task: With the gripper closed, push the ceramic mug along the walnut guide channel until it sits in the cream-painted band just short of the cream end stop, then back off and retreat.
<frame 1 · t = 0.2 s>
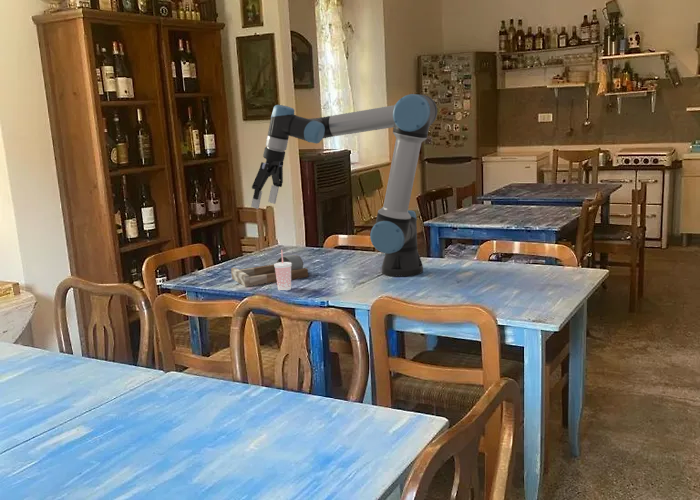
hand: (263, 205, 262), 27 cm above the table, tool tilted 20°, fingers open, 13 cm apart
ceramic mug: (287, 275, 269), on the table, touching guide channel
guide channel: (270, 277, 266), on the table
beverage cup: (284, 289, 248), on the table
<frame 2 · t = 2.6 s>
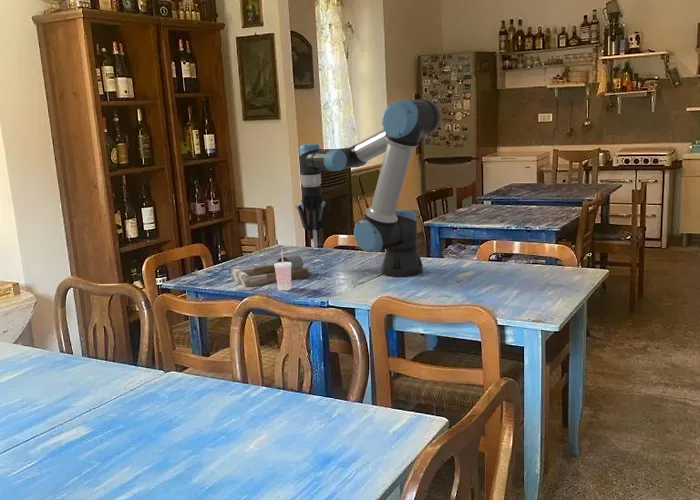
hand: (314, 247, 273), 9 cm above the table, tool pointing down, fingers closed
nothing on the table moved.
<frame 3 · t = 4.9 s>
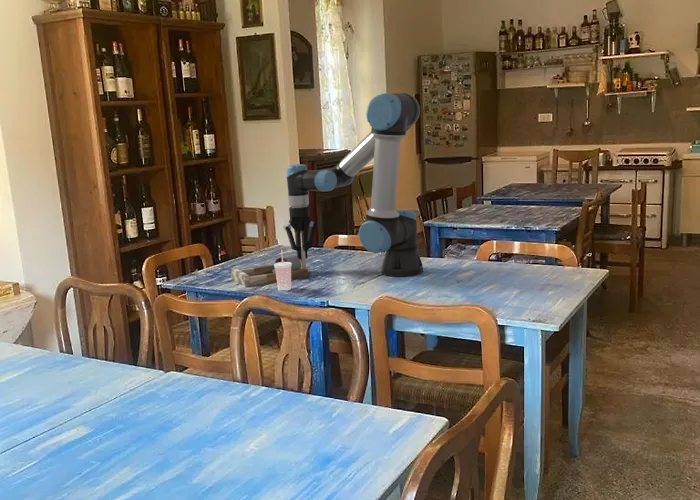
hand: (303, 267, 272), 2 cm above the table, tool pointing down, fingers closed
ceramic mug: (285, 275, 269), on the table, touching gripper
everything else where it was.
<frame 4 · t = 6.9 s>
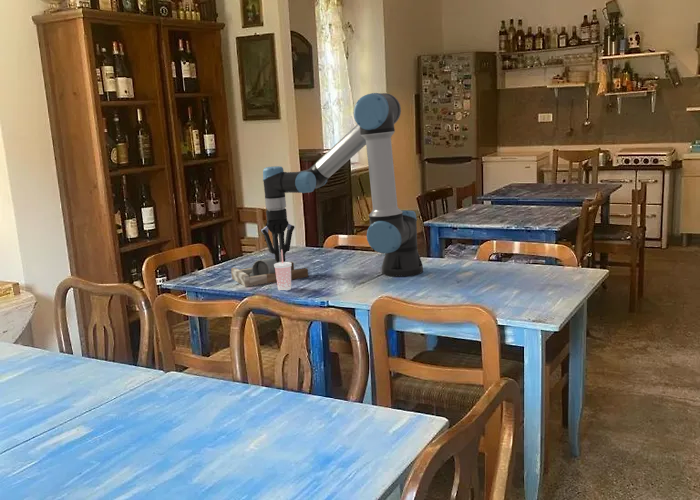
hand: (281, 270, 269), 2 cm above the table, tool pointing down, fingers closed
ceramic mug: (263, 279, 265), on the table, touching gripper, guide channel
everything else where it was.
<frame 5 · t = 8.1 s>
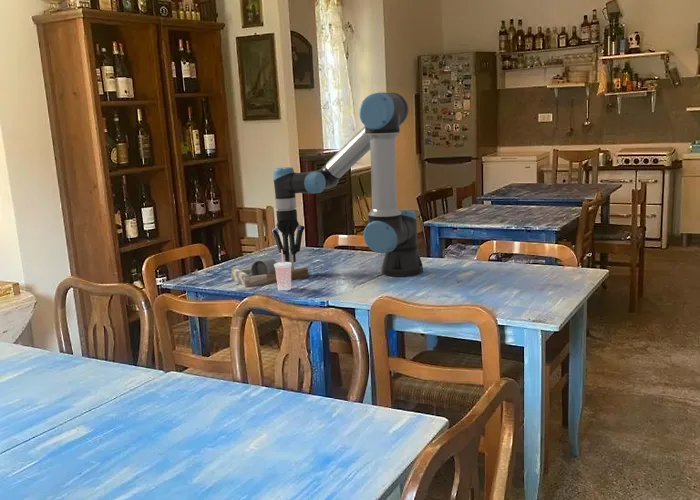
hand: (291, 271, 269), 1 cm above the table, tool pointing down, fingers closed
ceramic mug: (262, 279, 265), on the table, touching guide channel
everything else where it was.
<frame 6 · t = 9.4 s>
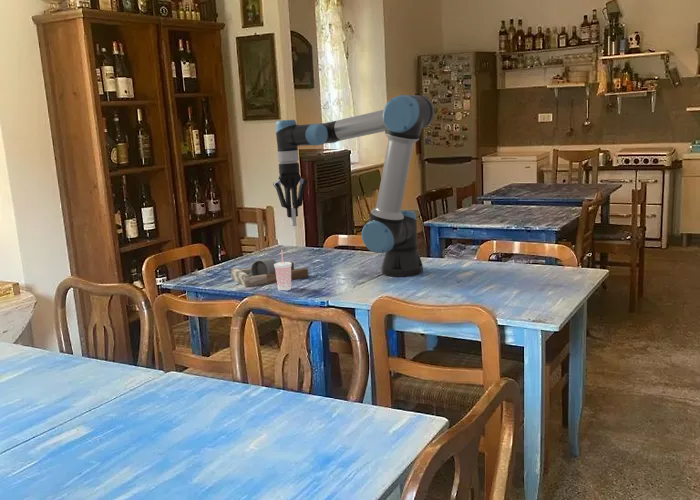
hand: (293, 225, 267), 18 cm above the table, tool pointing down, fingers closed
nothing on the table moved.
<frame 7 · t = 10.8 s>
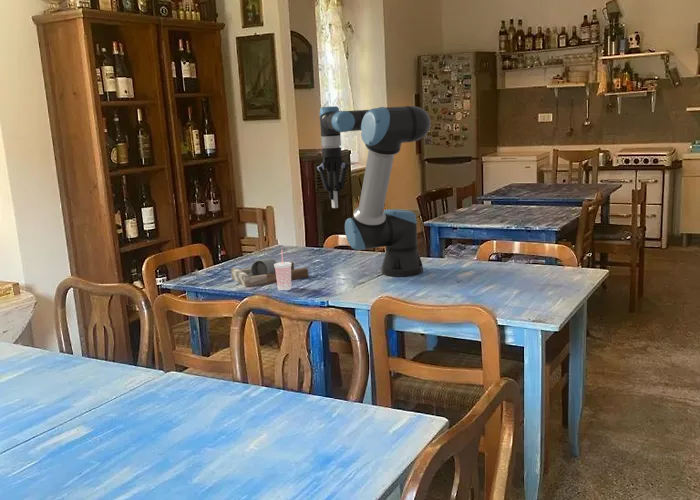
hand: (335, 207, 281), 22 cm above the table, tool pointing down, fingers closed
nothing on the table moved.
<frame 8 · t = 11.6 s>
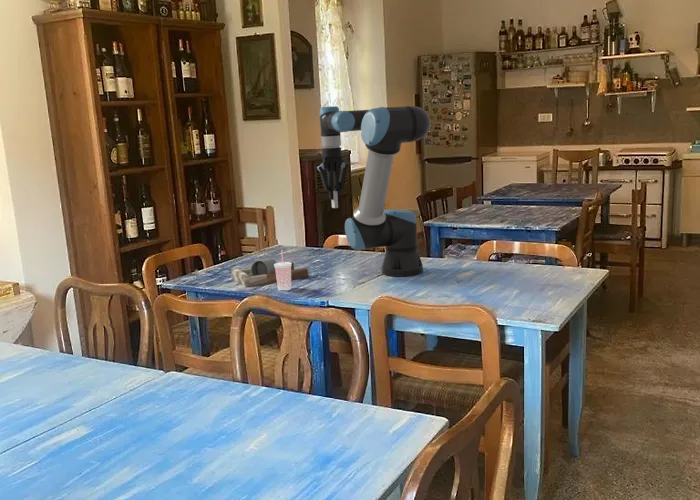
hand: (335, 207, 281), 22 cm above the table, tool pointing down, fingers closed
nothing on the table moved.
at the end: ceramic mug inside the target area (1.3 cm from its centre), on the table; ceramic mug tilted 1°; ceramic mug moved 10.0 cm from its start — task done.
